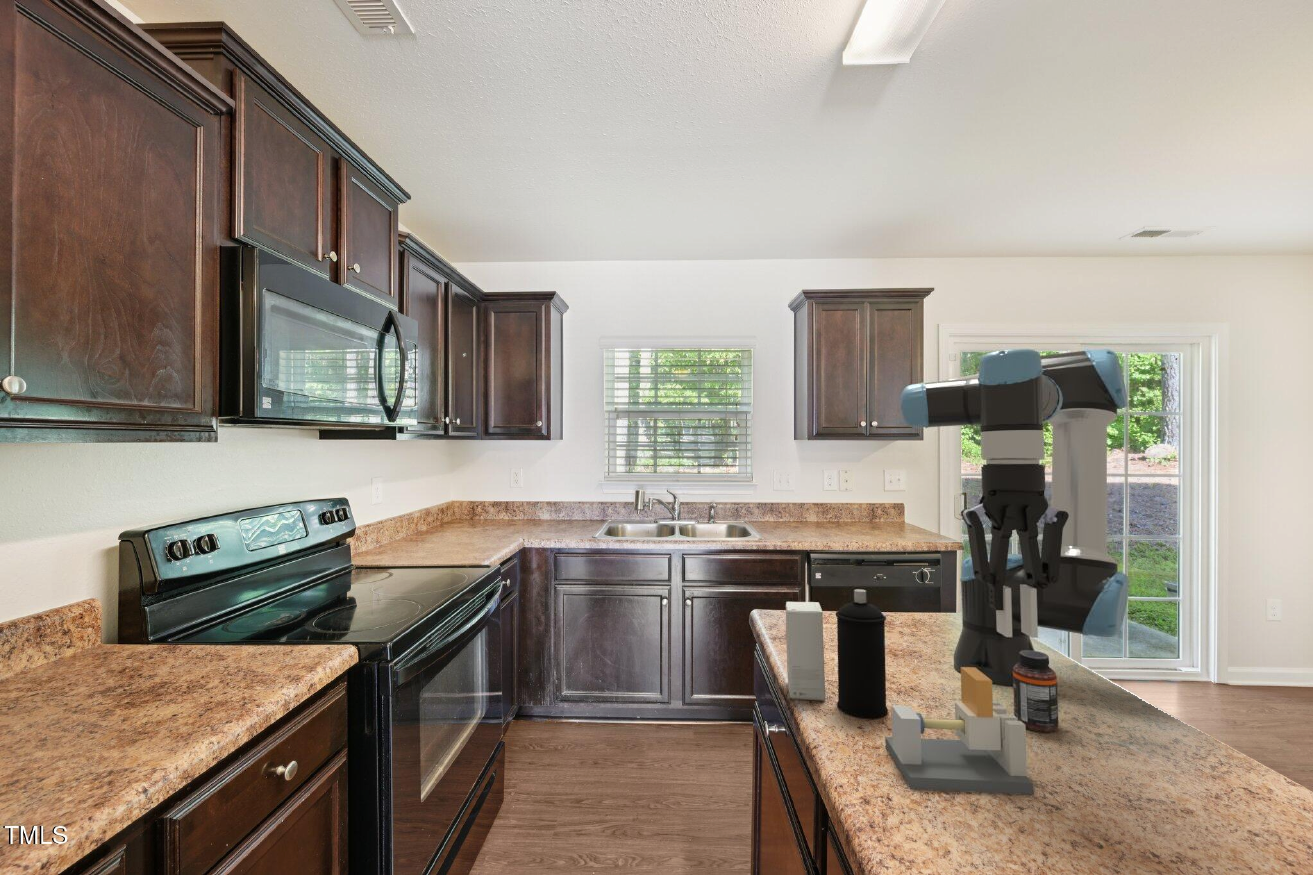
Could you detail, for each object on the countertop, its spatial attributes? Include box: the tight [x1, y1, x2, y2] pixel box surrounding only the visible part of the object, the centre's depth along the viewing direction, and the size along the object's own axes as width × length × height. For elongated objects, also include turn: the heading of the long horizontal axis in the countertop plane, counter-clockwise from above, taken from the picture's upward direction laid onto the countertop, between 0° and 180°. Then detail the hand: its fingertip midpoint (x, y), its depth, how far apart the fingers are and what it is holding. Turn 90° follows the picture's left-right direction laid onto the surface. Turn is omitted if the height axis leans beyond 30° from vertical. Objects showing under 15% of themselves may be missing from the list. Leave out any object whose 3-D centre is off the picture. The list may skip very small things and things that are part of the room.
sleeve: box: [954, 667, 1001, 751], centre depth 80 cm, size 4×5×9 cm
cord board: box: [884, 699, 1034, 796], centre depth 80 cm, size 15×11×8 cm
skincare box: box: [785, 601, 826, 701], centre depth 107 cm, size 8×7×16 cm
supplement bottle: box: [1012, 650, 1059, 733], centre depth 93 cm, size 6×6×11 cm
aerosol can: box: [835, 588, 889, 720], centre depth 100 cm, size 8×8×20 cm
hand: (1016, 633), depth 80 cm, fingers open, 3 cm apart
